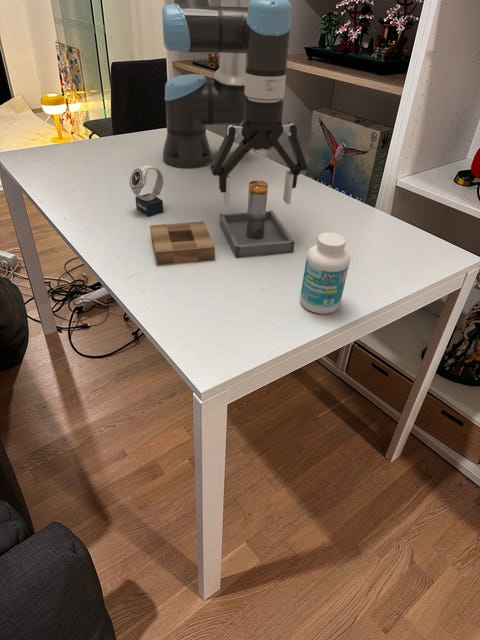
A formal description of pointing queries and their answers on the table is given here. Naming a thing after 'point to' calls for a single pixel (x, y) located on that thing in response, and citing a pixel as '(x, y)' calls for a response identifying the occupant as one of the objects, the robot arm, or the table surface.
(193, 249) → the socket block
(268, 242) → the tray
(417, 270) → the table surface
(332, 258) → the pill bottle
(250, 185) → the pin
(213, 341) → the table surface
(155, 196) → the watch
